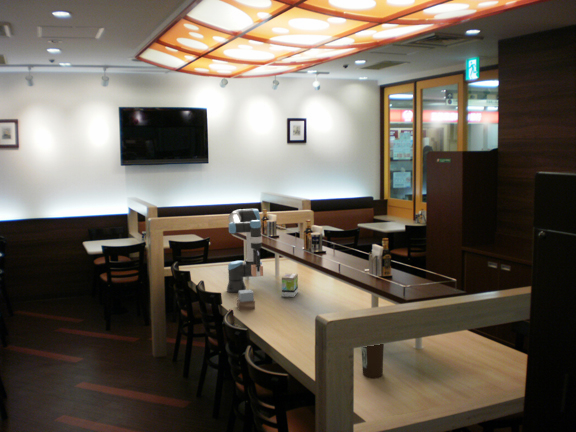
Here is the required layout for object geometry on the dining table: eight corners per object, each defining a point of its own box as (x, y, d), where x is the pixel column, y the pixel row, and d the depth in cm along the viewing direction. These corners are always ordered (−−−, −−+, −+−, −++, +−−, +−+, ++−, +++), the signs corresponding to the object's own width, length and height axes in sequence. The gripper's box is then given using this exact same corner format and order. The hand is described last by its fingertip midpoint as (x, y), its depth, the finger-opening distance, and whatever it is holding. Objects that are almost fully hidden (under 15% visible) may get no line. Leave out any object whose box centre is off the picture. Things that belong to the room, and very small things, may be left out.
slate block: (238, 298, 365) (238, 290, 364) (251, 297, 367) (250, 289, 366) (240, 302, 356) (240, 293, 356) (253, 300, 358) (253, 292, 358)
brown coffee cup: (380, 368, 251) (379, 319, 249) (386, 378, 241) (386, 326, 238) (358, 370, 250) (358, 320, 247) (364, 379, 240) (364, 327, 237)
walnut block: (237, 306, 366) (236, 298, 366) (252, 305, 369) (252, 297, 368) (239, 311, 356) (238, 302, 355) (255, 309, 358) (254, 301, 358)
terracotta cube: (251, 274, 365) (251, 264, 364) (261, 273, 366) (260, 264, 366) (253, 276, 358) (253, 266, 357) (263, 275, 360) (262, 266, 359)
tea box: (294, 297, 387) (294, 277, 385) (281, 296, 389) (281, 277, 387) (298, 291, 401) (297, 273, 400) (285, 291, 403) (285, 273, 402)
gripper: (248, 240, 368) (249, 272, 371) (253, 245, 349) (254, 278, 352) (258, 239, 370) (259, 271, 373) (264, 244, 351) (265, 277, 353)
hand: (257, 274), depth 362 cm, fingers closed on terracotta cube, 7 cm apart
